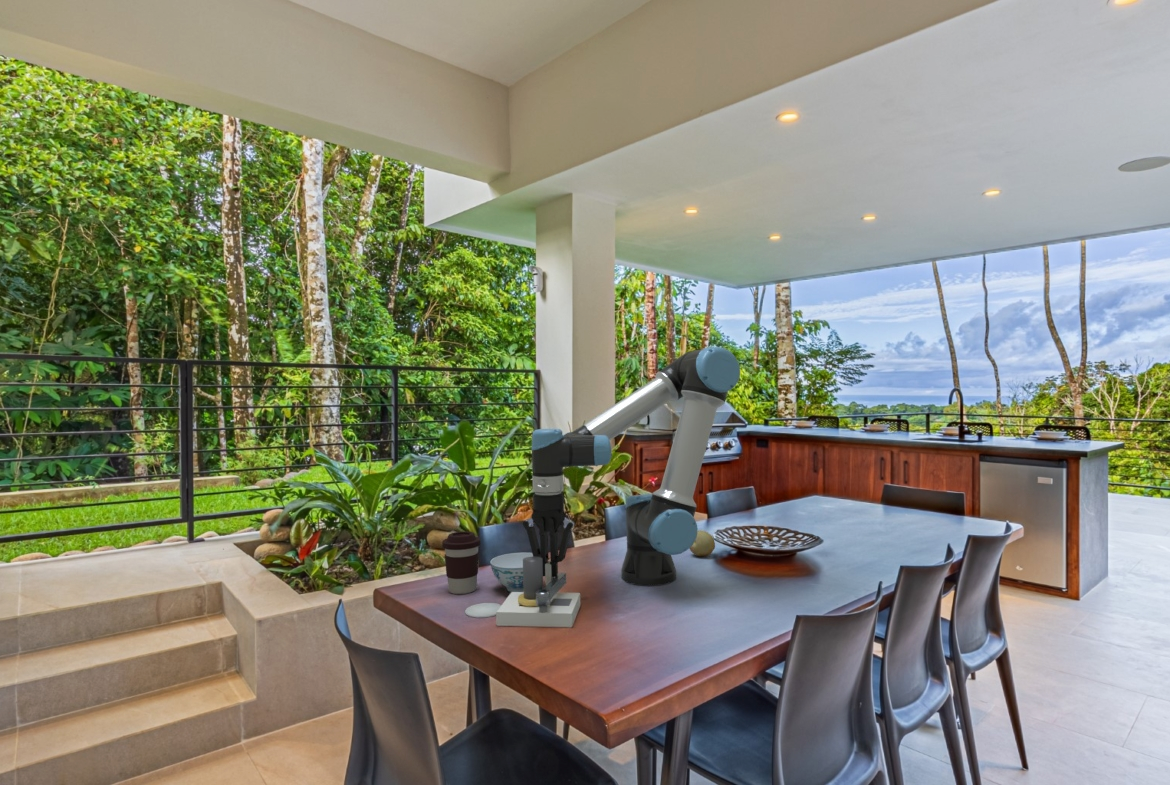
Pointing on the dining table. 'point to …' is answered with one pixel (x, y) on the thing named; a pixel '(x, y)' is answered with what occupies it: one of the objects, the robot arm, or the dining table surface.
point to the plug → (531, 580)
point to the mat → (482, 610)
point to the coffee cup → (461, 561)
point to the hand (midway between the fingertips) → (550, 589)
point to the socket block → (539, 611)
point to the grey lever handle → (550, 590)
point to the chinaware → (510, 570)
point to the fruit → (703, 544)
